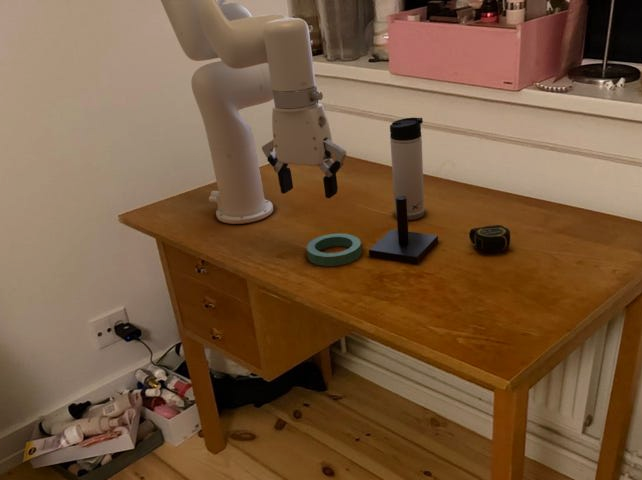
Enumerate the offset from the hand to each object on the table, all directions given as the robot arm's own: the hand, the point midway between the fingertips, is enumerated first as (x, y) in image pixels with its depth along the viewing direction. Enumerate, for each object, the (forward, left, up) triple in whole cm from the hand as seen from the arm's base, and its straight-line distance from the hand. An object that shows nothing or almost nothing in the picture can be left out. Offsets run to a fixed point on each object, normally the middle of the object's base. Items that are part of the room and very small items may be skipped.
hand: (309, 193), depth 131 cm
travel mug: (+10, +22, -12) cm, 27 cm away
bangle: (+4, 0, -12) cm, 12 cm away
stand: (+16, +6, -12) cm, 21 cm away
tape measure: (+31, +12, -12) cm, 35 cm away
